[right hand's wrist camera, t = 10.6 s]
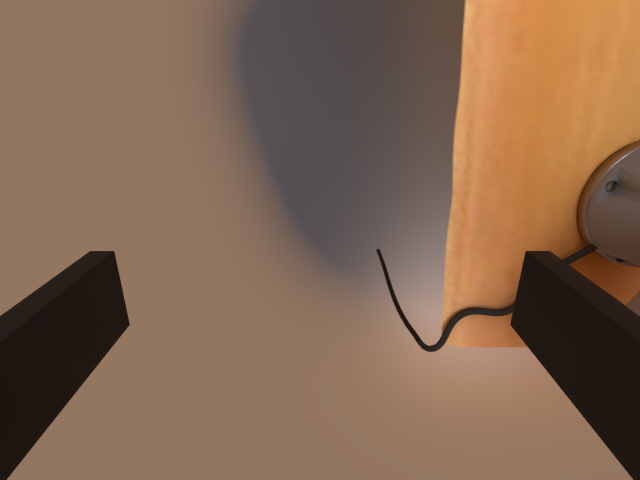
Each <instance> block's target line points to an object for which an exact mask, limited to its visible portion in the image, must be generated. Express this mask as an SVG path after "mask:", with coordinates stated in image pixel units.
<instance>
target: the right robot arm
mask: <svg viewBox="0 0 640 480" xmlns="http://www.w3.org/2000/svg"><path fill="white" fill-rule="evenodd" d="M577 220H578V227H579V231H580V233H581V236H582V238H583V239H584V241H585V242H586V244H587V245H588V246H587V247H585V248H584V249H582V250H580V251H578V252H576V253H574V254H573V255H571V256H569V257H567V258H565V259H563V260H561V259H560V258H559V257H557V256H556V255H554V254H553V253H552V252H550V251H526V252H525V257H524V262H523V267H522V272H521V276H520V281H519V286H518V291H517V295H516V300H515V303H514V304H513V305H511V306H509V307H507V308H505V309H500V310H492V309H483V308H469V309H466V310H463V311H461V312H459V313H457V314H456V315H455V316H454V317H452V319H451V320H450V321H449V323H448V324H447V326H446V328H445V330H444V332H443V334H442V336H441V338H440V340H439V341H438V342H437V343H436V344H435V345H432V346H428V345H426V344H425V343H424V342H423V341H422V340H421V338H420V337H419V335H418V334H417V333H416V331H415V330H414V329H413V327H412V326H411V325H410V323H409V322H408V320H407V318H406V317H405V315H404V313H403V311H402V309H401V307H400V305H399V303H398V301H397V298H396V295H395V293H394V290H393V287H392V284H391V281H390V278H389V274H388V271H387V268H386V265H385V262H384V259H383V257H382V254H381V252H380V249H377V250H376V251H377V254H378V256H379V259H380V262H381V265H382V268H383V272H384V275H385V279H386V282H387V286H388V289H389V292H390V295H391V298H392V300H393V303H394V305H395V308H396V310H397V312H398V314H399V316H400V318H401V319H402V321H403V323H404V324H405V326H406V328H407V329H408V330H409V332H410V333H411V335H412V336H413V337H414V339H415V340H416V342H417V343H418V345H419V346H420V347H421V348H422V349H423V350H425V351H428V352H434V351H437V350H439V349H440V348H441V347H442V346H443V345H444V344H445V342H446V340H447V339H448V337H449V334H450V332H451V331H452V329H453V327H454V325H455V324H456V323H457V322H458V321H459V320H460V319H462V318H463V317H465V316H468V315H473V314H480V315H489V316H503V315H507V314H510V313H512V312H513V314H512V319H511V324H510V325H511V326H512V327H513V329H514V330H515V331H516V332H517V334H518V335H519V336H520V338H521V339H522V340H523V341H524V343H525V344H526V345H527V346H528V348H529V349H530V350H531V351H532V353H533V354H534V355H535V356H536V358H537V359H538V360H539V361H540V363H541V364H542V365H543V366H544V368H545V369H546V370H547V371H548V373H549V374H550V375H551V377H552V378H553V379H554V380H555V381H556V383H557V384H558V385H559V387H560V388H561V389H562V390H563V392H564V393H565V394H566V395H567V397H568V398H569V399H570V400H571V402H572V403H573V404H574V405H575V407H576V408H577V409H578V411H579V412H580V413H581V414H582V415H583V417H584V418H585V419H586V421H587V422H588V423H589V424H590V426H591V427H592V428H593V429H594V431H595V432H596V433H597V434H598V436H599V437H600V438H601V439H602V441H603V442H604V443H605V444H606V446H607V447H608V448H609V449H610V451H611V452H612V453H613V455H614V456H615V457H616V458H617V460H618V461H619V462H620V463H621V465H622V466H623V467H624V468H625V470H626V471H627V472H628V473H629V475H630V476H631V477H632V478H633V480H640V291H639V292H638V293H637V294H636V295H635V296H634V297H633V298H632V299H631V300H630V301H629V302H628V303H627V304H626V305H624V304H622V303H621V302H619V301H618V300H617V299H615V298H614V297H613V296H611V295H610V294H608V293H607V292H606V291H604V290H603V289H601V288H600V287H599V286H597V285H596V284H595V283H593V282H592V281H590V280H589V279H588V278H586V277H585V276H583V275H582V274H581V273H579V272H578V271H577V270H575V269H574V268H572V267H571V266H570V265H568V264H570V263H572V262H574V261H576V260H578V259H580V258H582V257H583V256H585V255H587V254H589V253H591V252H593V251H595V252H597V253H598V254H600V255H601V256H603V257H605V258H606V259H608V260H610V261H612V262H615V263H618V264H622V265H628V266H636V267H640V141H638V142H635V143H633V144H630V145H628V146H626V147H624V148H622V149H621V150H619V151H618V152H616V153H615V154H613V155H612V156H610V157H609V158H608V159H607V160H606V161H605V162H603V163H602V165H601V166H600V167H599V168H598V169H597V170H596V171H595V172H594V174H593V175H592V176H591V178H590V179H589V181H588V182H587V184H586V186H585V188H584V190H583V192H582V195H581V198H580V201H579V205H578V213H577ZM129 325H130V324H129V319H128V314H127V310H126V305H125V300H124V295H123V291H122V286H121V281H120V276H119V272H118V267H117V262H116V257H115V253H114V251H90V252H88V253H87V254H86V255H84V256H83V257H82V258H80V259H79V260H77V261H76V262H75V263H73V264H72V265H70V266H69V267H68V268H66V269H65V270H64V271H62V272H61V273H59V274H58V275H57V276H55V277H54V278H52V279H51V280H50V281H48V282H47V283H46V284H44V285H43V286H41V287H40V288H39V289H37V290H36V291H34V292H33V293H32V294H30V295H29V296H28V297H26V298H25V299H23V300H22V301H21V302H19V303H18V304H16V305H15V306H14V307H12V308H11V309H10V310H8V311H7V312H5V313H4V314H3V315H1V316H0V480H7V478H8V477H9V476H10V475H11V473H12V472H13V471H14V470H15V468H16V467H17V466H18V465H19V463H20V462H21V461H22V460H23V458H24V457H25V456H26V455H27V453H28V452H29V451H30V449H31V448H32V447H33V446H34V444H35V443H36V442H37V441H38V439H39V438H40V437H41V436H42V434H43V433H44V432H45V431H46V429H47V428H48V427H49V426H50V424H51V423H52V422H53V421H54V419H55V418H56V417H57V416H58V414H59V413H60V412H61V411H62V409H63V408H64V407H65V405H66V404H67V403H68V402H69V400H70V399H71V398H72V397H73V395H74V394H75V393H76V392H77V390H78V389H79V388H80V387H81V385H82V384H83V383H84V382H85V380H86V379H87V378H88V376H89V375H90V374H91V373H92V371H93V370H94V369H95V368H96V366H97V365H98V364H99V363H100V361H101V360H102V359H103V358H104V356H105V355H106V354H107V353H108V351H109V350H110V349H111V348H112V346H113V345H114V344H115V343H116V341H117V340H118V339H119V338H120V336H121V335H122V334H123V332H124V331H125V330H126V329H127V327H128V326H129Z"/></svg>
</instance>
